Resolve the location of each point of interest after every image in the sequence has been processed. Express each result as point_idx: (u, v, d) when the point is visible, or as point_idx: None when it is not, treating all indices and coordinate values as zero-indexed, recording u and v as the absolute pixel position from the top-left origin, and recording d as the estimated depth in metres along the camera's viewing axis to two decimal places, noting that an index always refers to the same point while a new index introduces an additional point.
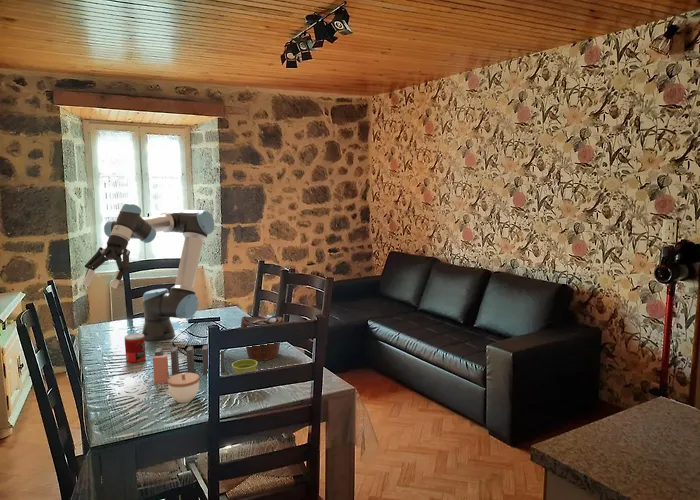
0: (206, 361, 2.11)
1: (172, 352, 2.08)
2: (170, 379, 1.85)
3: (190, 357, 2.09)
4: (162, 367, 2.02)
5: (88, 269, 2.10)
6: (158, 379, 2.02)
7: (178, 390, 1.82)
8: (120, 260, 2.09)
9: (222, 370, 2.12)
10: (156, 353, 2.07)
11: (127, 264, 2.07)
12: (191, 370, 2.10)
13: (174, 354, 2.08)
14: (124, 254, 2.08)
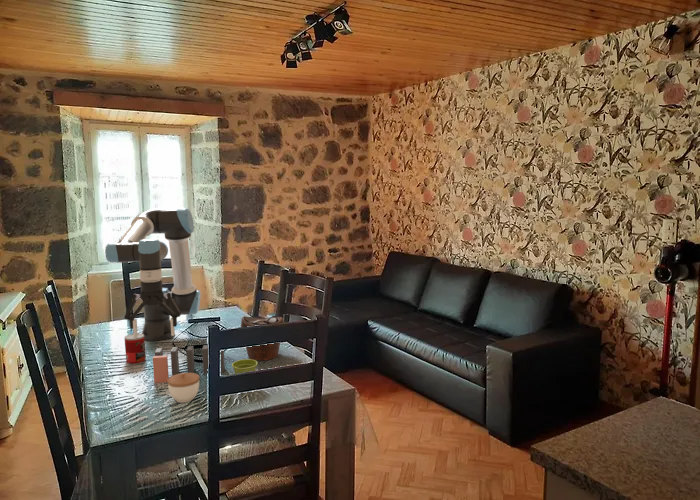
0: (206, 361, 2.11)
1: (172, 352, 2.08)
2: (170, 379, 1.85)
3: (190, 357, 2.09)
4: (162, 367, 2.02)
5: (130, 320, 1.98)
6: (158, 379, 2.02)
7: (178, 390, 1.82)
8: (165, 305, 2.00)
9: (222, 370, 2.12)
10: (156, 353, 2.07)
11: (178, 308, 2.01)
12: (191, 370, 2.10)
13: (174, 354, 2.08)
14: (170, 300, 1.99)
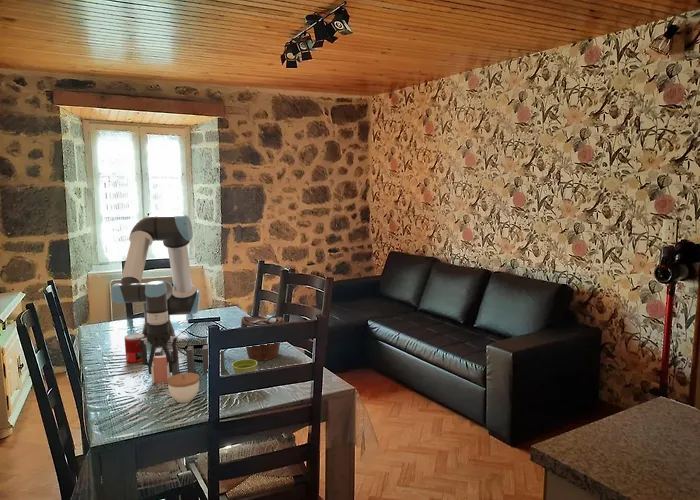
0: (206, 361, 2.11)
1: (172, 352, 2.08)
2: (170, 379, 1.85)
3: (190, 357, 2.09)
4: (162, 367, 2.02)
5: None
6: (158, 379, 2.02)
7: (178, 390, 1.82)
8: (168, 349, 2.02)
9: (222, 370, 2.12)
10: (156, 353, 2.07)
11: (176, 355, 2.03)
12: (191, 370, 2.10)
13: None
14: (174, 345, 2.01)
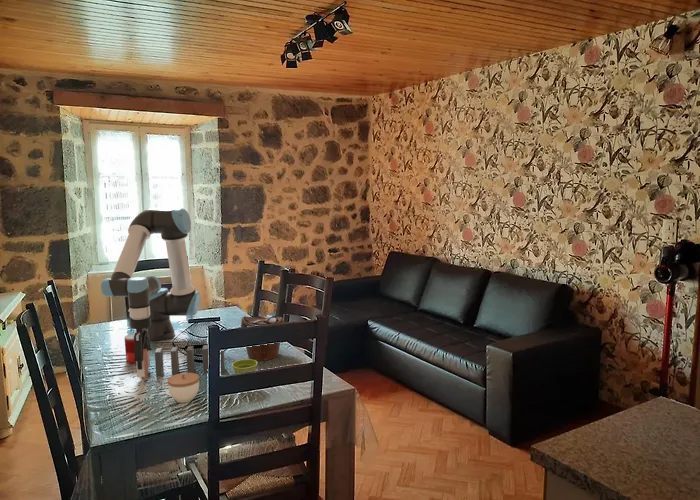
0: (206, 361, 2.11)
1: (172, 352, 2.08)
2: (170, 379, 1.85)
3: (190, 357, 2.09)
4: None
5: None
6: None
7: (178, 390, 1.82)
8: None
9: (222, 370, 2.12)
10: (156, 353, 2.07)
11: (137, 354, 2.00)
12: (191, 370, 2.10)
13: (174, 354, 2.08)
14: None
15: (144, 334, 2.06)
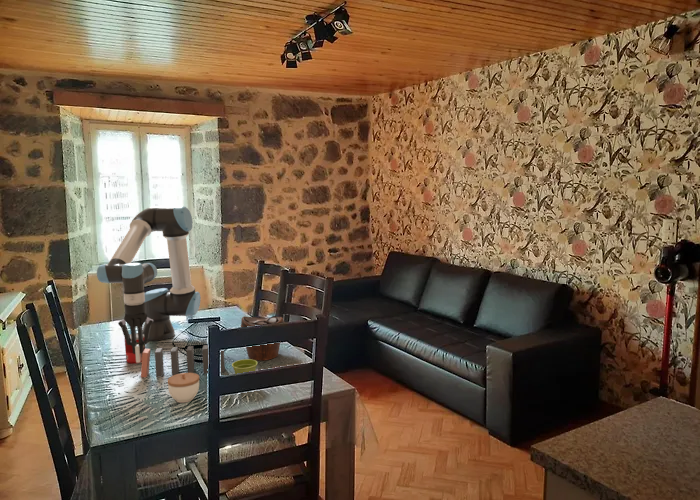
0: (206, 361, 2.11)
1: (172, 352, 2.08)
2: (170, 379, 1.85)
3: (190, 357, 2.09)
4: None
5: (133, 346, 2.07)
6: None
7: (178, 390, 1.82)
8: (141, 330, 2.07)
9: (222, 370, 2.12)
10: (156, 353, 2.07)
11: (148, 337, 2.08)
12: (191, 370, 2.10)
13: (174, 354, 2.08)
14: (148, 327, 2.06)
15: None
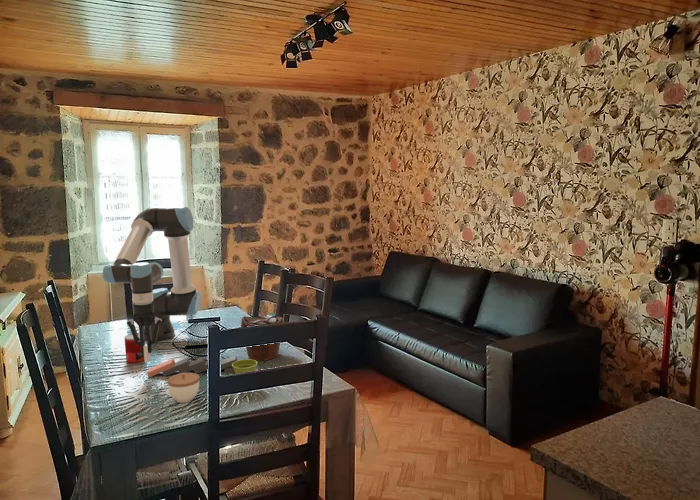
0: (224, 367, 2.12)
1: (201, 363, 2.10)
2: (170, 379, 1.85)
3: None
4: (162, 365, 2.10)
5: (141, 345, 2.07)
6: (152, 368, 2.11)
7: (178, 390, 1.82)
8: (150, 329, 2.08)
9: None
10: (186, 363, 2.09)
11: (156, 336, 2.08)
12: (199, 371, 2.11)
13: (200, 365, 2.10)
14: (157, 326, 2.07)
15: None
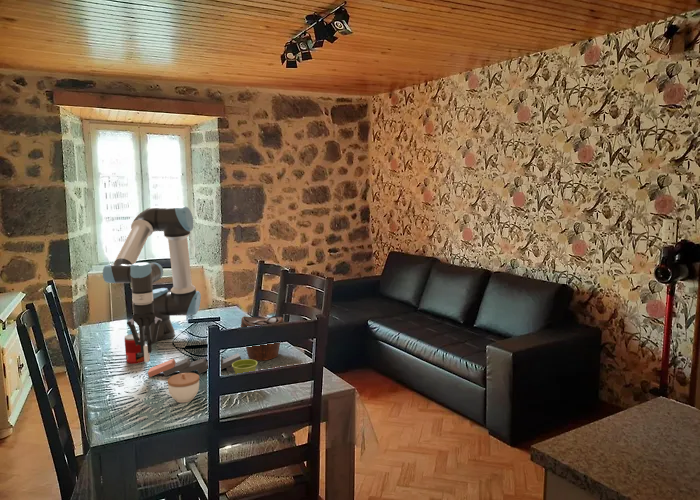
0: (229, 364, 2.14)
1: (202, 364, 2.10)
2: (170, 379, 1.85)
3: None
4: (162, 365, 2.10)
5: (141, 345, 2.07)
6: (152, 368, 2.11)
7: (178, 390, 1.82)
8: (150, 329, 2.08)
9: None
10: (186, 363, 2.09)
11: (156, 336, 2.08)
12: (202, 371, 2.11)
13: (201, 366, 2.10)
14: (157, 326, 2.07)
15: None
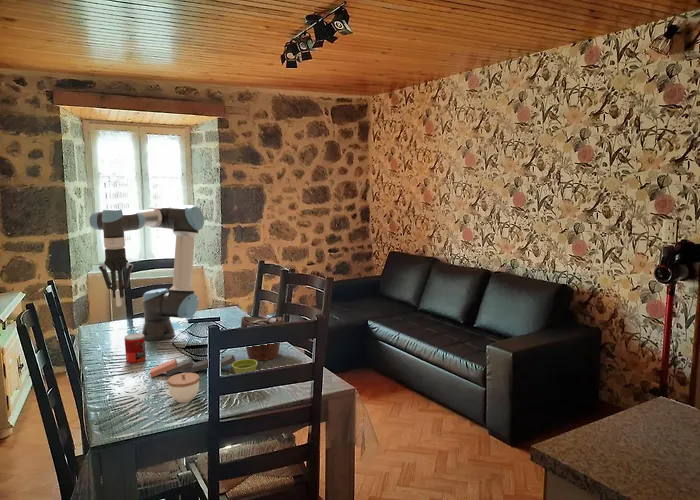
0: None
1: (207, 365, 2.11)
2: (170, 379, 1.85)
3: (225, 364, 2.12)
4: (164, 365, 2.09)
5: (113, 290, 2.12)
6: (154, 368, 2.11)
7: (178, 390, 1.82)
8: (122, 274, 2.13)
9: None
10: (189, 364, 2.10)
11: (128, 281, 2.13)
12: None
13: (205, 367, 2.11)
14: (128, 271, 2.12)
15: None
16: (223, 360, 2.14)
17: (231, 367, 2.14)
